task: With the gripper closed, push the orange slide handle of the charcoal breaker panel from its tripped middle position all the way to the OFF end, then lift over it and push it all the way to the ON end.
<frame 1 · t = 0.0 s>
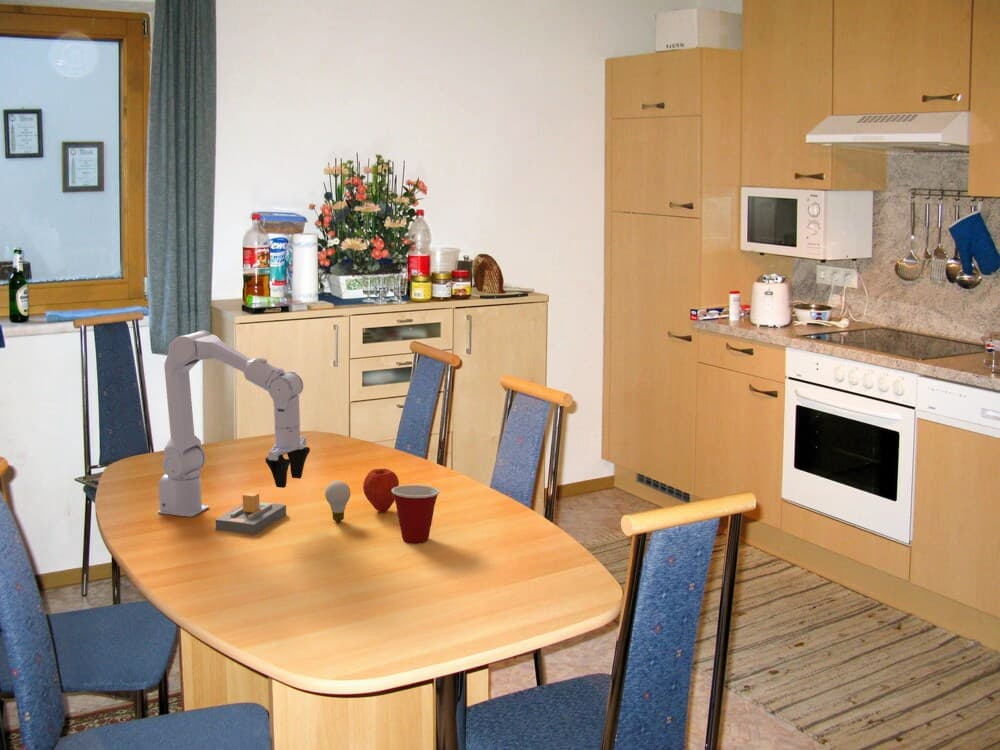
hand: (288, 482, 259), 10 cm above the table, fingers open, 7 cm apart
breaker panel: (251, 522, 262), on the table
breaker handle: (251, 502, 261), point 5 cm above the table, slide at 0.0 cm
plastic cup: (415, 540, 252), on the table
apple: (381, 512, 271), on the table
light bulb: (338, 522, 263), on the table
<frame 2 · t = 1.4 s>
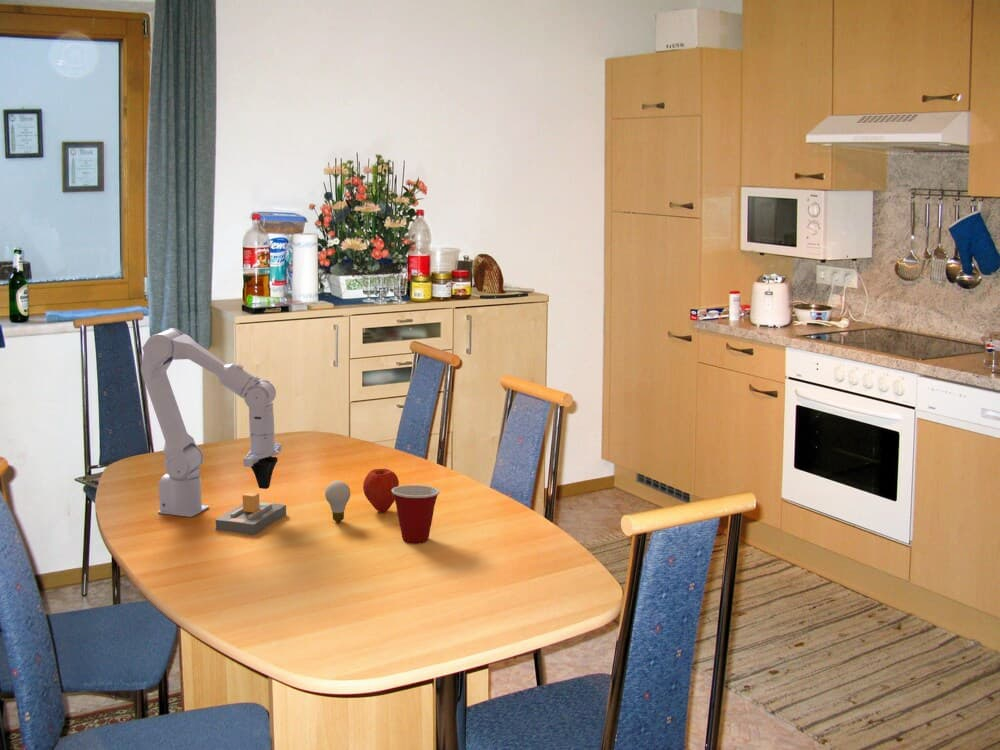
hand: (264, 487, 266), 7 cm above the table, fingers closed
nothing on the table moved.
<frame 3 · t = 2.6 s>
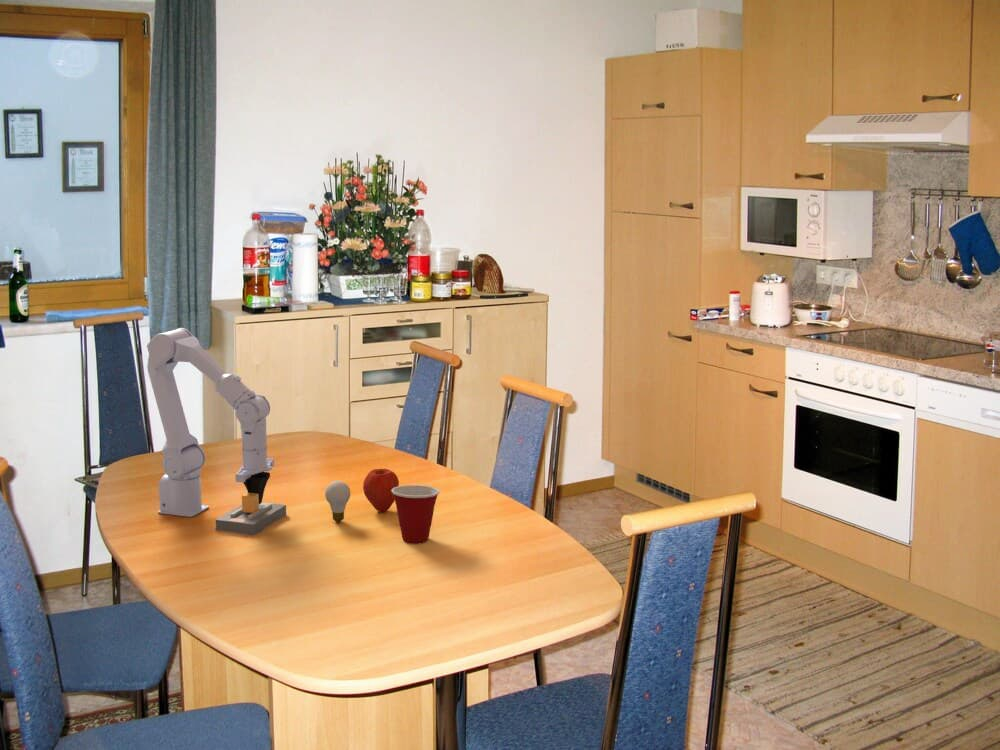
hand: (256, 503, 264), 4 cm above the table, fingers closed
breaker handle: (250, 502, 261), point 5 cm above the table, slide at -0.3 cm, touching gripper
everything else where it was.
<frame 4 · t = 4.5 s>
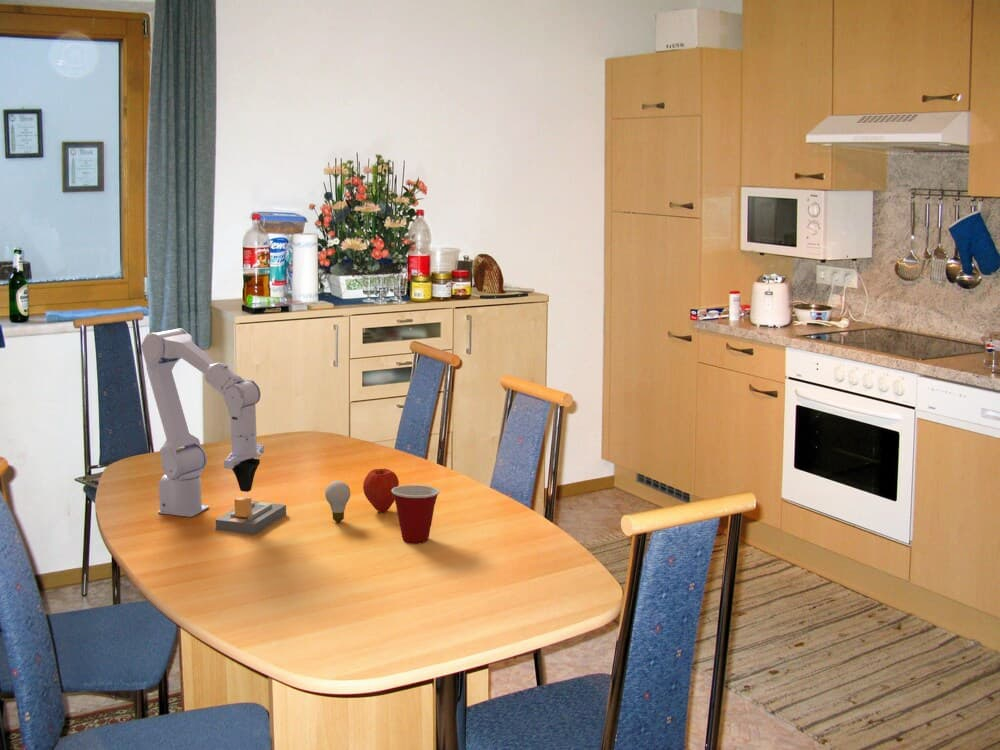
hand: (245, 490, 258), 8 cm above the table, fingers closed
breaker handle: (243, 506, 258), point 5 cm above the table, slide at -3.6 cm
everything else where it was.
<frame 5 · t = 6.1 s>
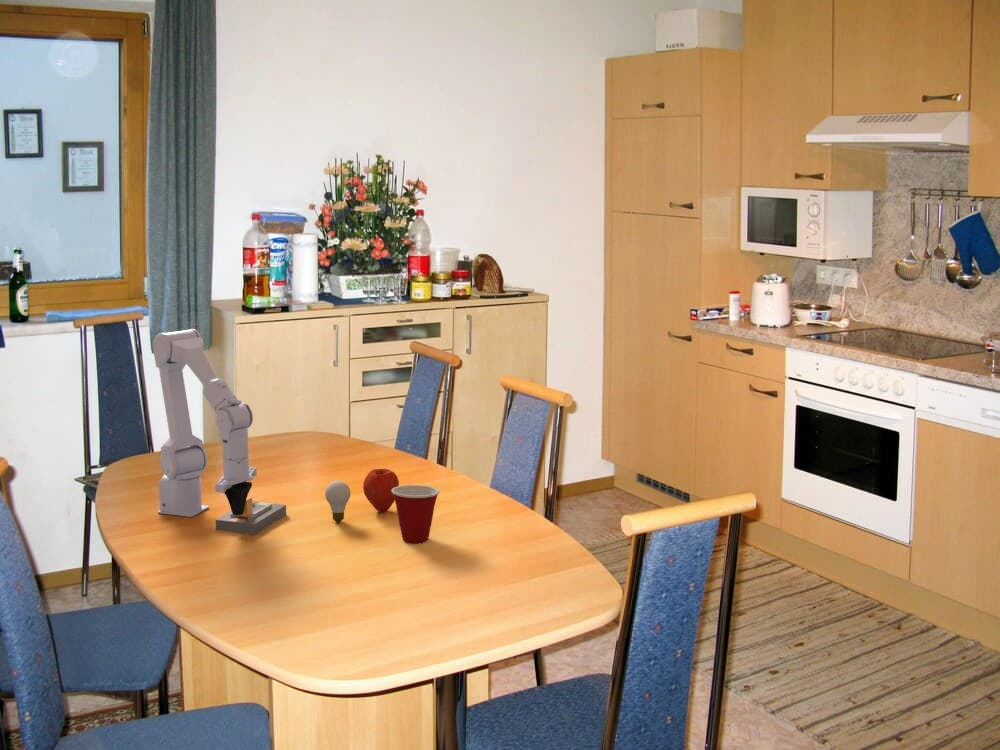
hand: (237, 514, 256), 4 cm above the table, fingers closed
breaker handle: (243, 506, 258), point 5 cm above the table, slide at -3.2 cm, touching gripper
everything else where it was.
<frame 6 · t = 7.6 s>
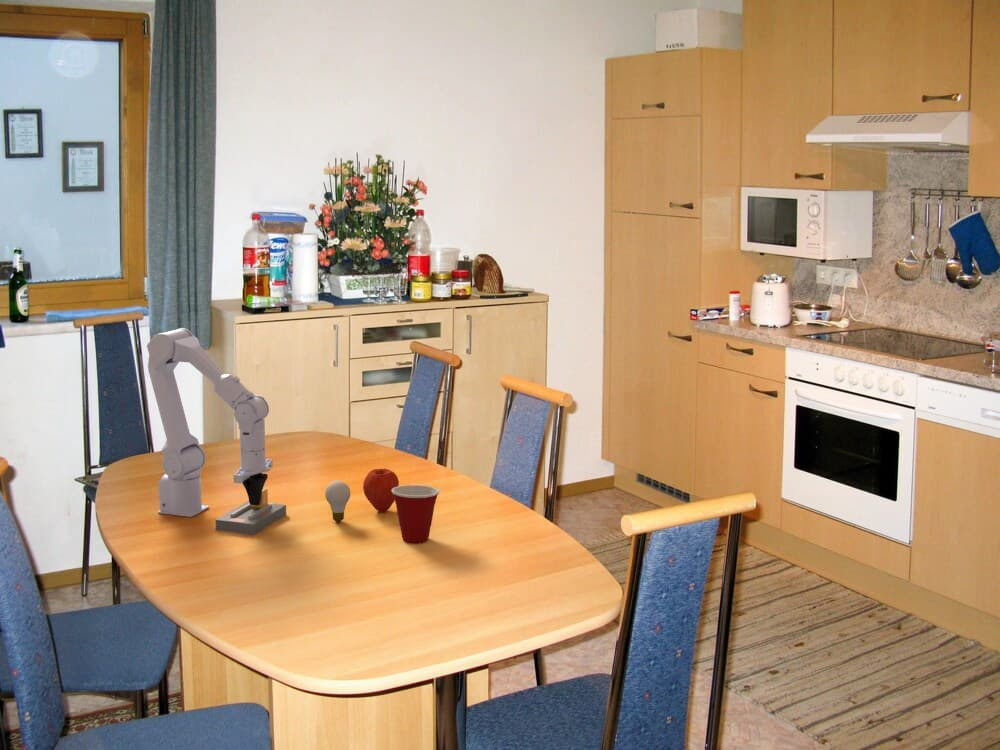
hand: (254, 504, 263), 4 cm above the table, fingers closed
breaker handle: (259, 497, 265), point 5 cm above the table, slide at 3.9 cm, touching gripper
everything else where it was.
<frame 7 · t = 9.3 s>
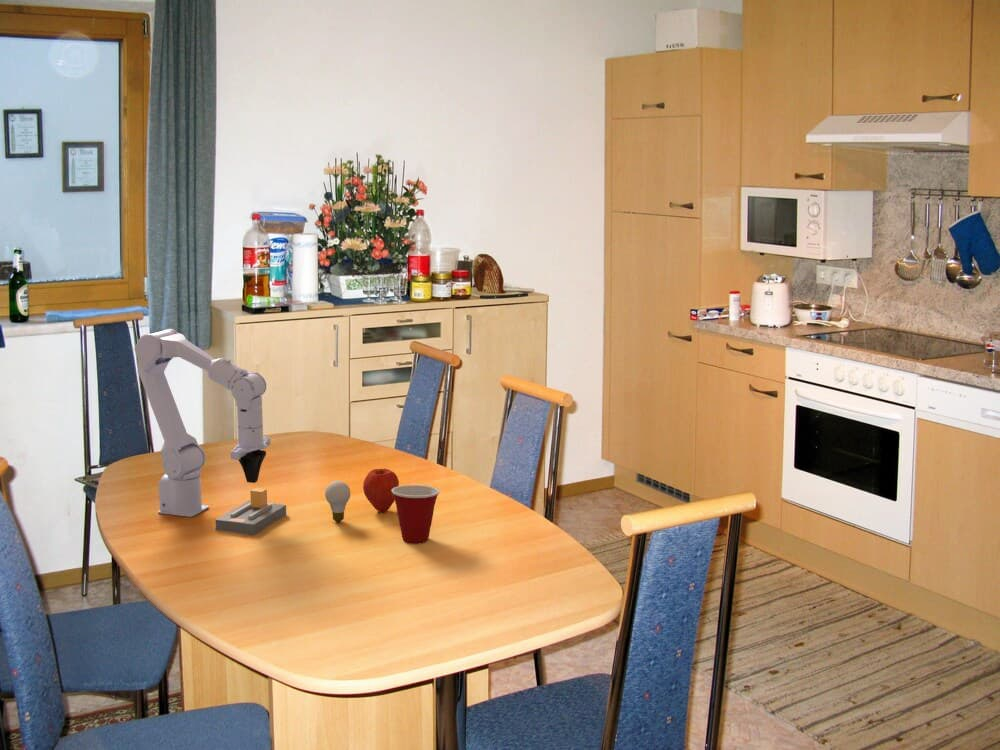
hand: (252, 481, 262), 9 cm above the table, fingers closed
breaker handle: (258, 497, 264), point 5 cm above the table, slide at 3.6 cm
everything else where it was.
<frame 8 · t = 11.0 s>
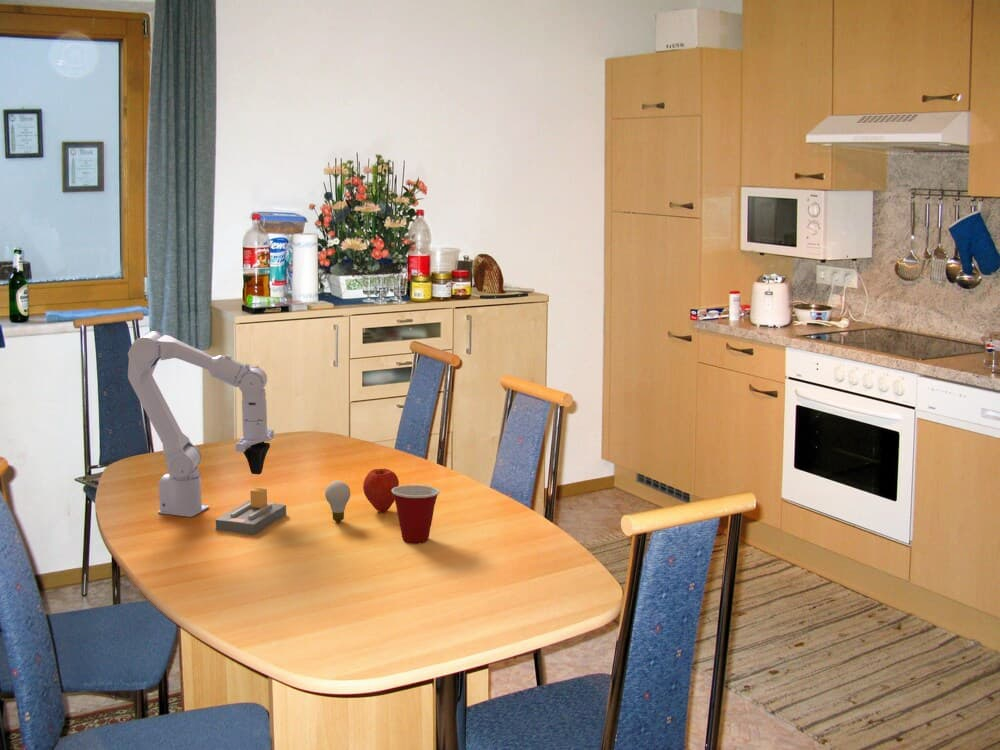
hand: (256, 473, 269), 9 cm above the table, fingers closed
nothing on the table moved.
at the end: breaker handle slide at 3.6 cm; light bulb moved 0.2 cm from its start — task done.
